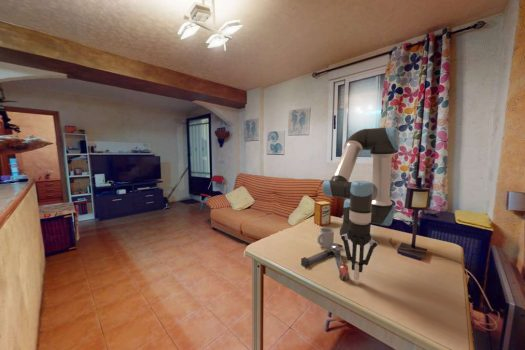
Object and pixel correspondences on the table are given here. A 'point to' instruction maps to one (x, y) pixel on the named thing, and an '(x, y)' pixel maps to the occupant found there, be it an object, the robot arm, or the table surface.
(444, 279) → the table surface
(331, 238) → the cup
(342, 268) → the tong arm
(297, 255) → the table surface
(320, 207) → the baking soda box
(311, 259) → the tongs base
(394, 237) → the table surface
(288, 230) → the table surface
